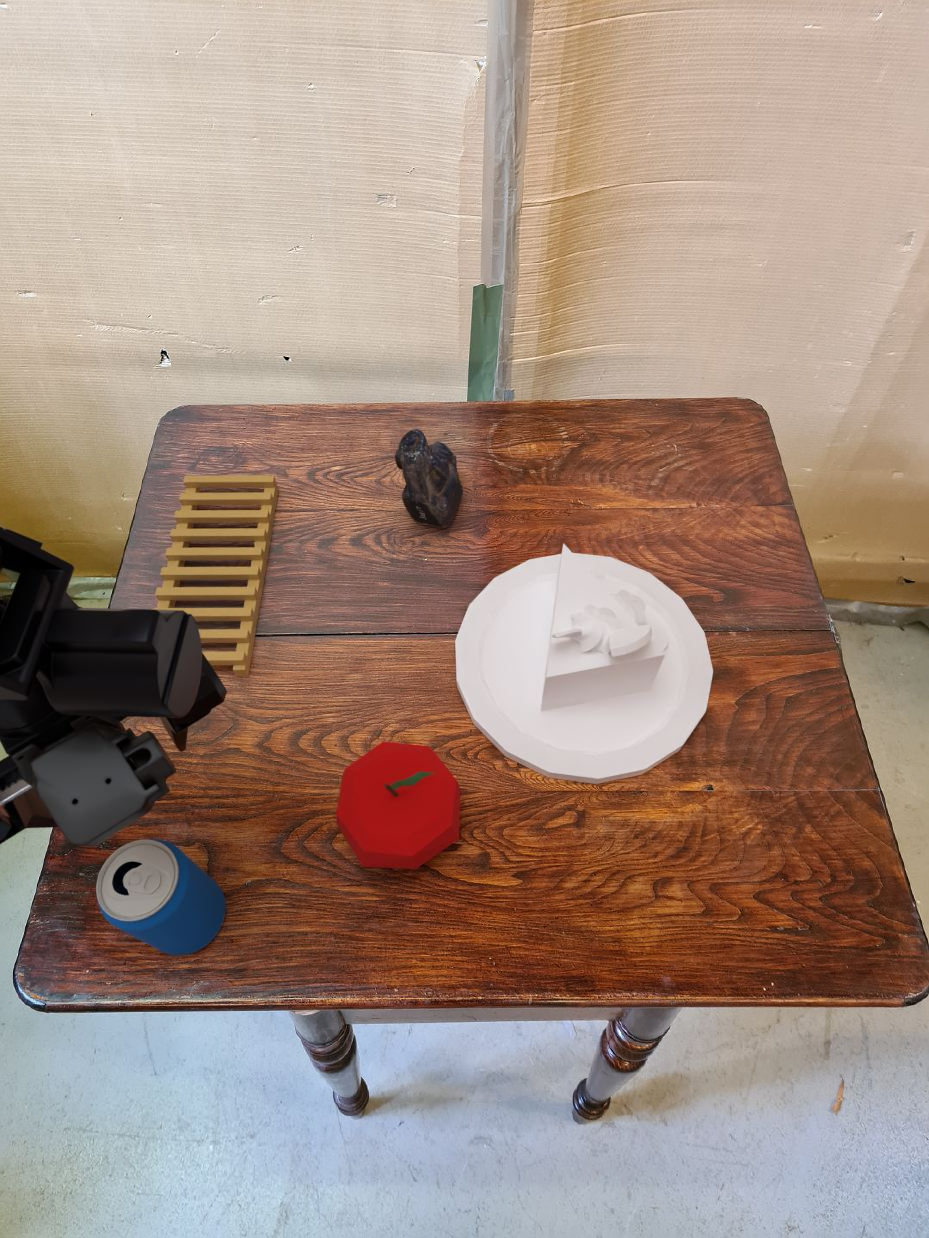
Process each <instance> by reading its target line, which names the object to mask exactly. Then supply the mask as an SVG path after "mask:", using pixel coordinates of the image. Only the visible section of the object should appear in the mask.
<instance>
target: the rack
mask: <svg viewBox="0 0 929 1238" xmlns="http://www.w3.org/2000/svg"><path fill="white" fill-rule="evenodd" d="M182 483H183V485H184V487H185V490H184V492H180V493H179V498H178V501H179V503H180V510H179V509H175V513H174V516H173V518H174V520H175V522H176V526H175V528H171V529H170V534H169V538H170V539H171V541H172V544H171V547H167V548H166V550H165V554H164V556H165V558H166V559H167V563H166V566H162V567H161V569H160V573H159V575H160V578H161V579H162V583H161V584H162V585H161V586H158V587H156V588H155V589H156V590H155V594H154V597H156V599H157V605H156V607H152V608H151V609H154V610H183V611H184V612H186V613H187V614H192V616H193V617H194V619H195V621H196V622H240V624H239V625H240V626H239V628H236V629H235V628H231V629H229V628H227V629H226V628H224V629H222V628H221V629H219V628H217V629H215V628H213V629H209V628H207V629H204V628H203V629H199V628H198V629H199V633H200V638H201V644H203V643H205V644H207V643H208V644H209V643H212V644H214V643H219V644H220V643H223V644H225V643H226V644H228V643H230V644H231V643H236V648H235V651H202V653H203V654H204V656H205V657H206V659H207V660H208V662H209V663H210V664H211V666H232V671H233V673H234V676H235V677H236V678H249V677H250V671H251V664H252V658H253V652H254V645H255V639H256V632H257V627H258V621H259V615H260V607H261V602H262V597H263V589H264V583H265V578H266V571H267V565H268V559H269V554H270V552H269V551H270V547H271V542H272V541H271V540H272V533H273V530H274V529H273V528H274V522H275V515H276V511H277V504H278V497H279V491H280V490H279V486H278V483H277V480H276V476H275V475H274V474H271V475H270V474H265V475H264V474H263V475H262V474H259V475H258V474H256V475H255V474H252V475H250V474H242V475H239V474H238V475H237V474H236V475H228V474H227V475H225V474H224V475H184V478H183V481H182ZM218 488H219V489H221V488H222V489H226V488H227V489H229V488H230V489H233V488H237V489H238V488H239V489H240V488H241V489H242V488H243V489H244V488H246V489H248V488H249V489H250V488H253V489H254V488H256V489H257V488H263V491H261V492H260V491H259V492H258V491H257V492H202V489H218ZM199 506H260V509H208V510H206V509H205V510H203V509H200V510H198V507H199ZM195 524H257V527H256V528H255V527H254V528H253V527H251V528H249V527H247V528H194V525H195ZM191 542H254V545H253V547H245V546H244V547H243V546H242V547H239V546H238V547H236V546H235V547H230V546H229V547H189V546H190V543H191ZM186 561H251V563H250V566H185V563H186ZM182 581H247V586H180V585H181V582H182ZM177 601H244V603H243V607H176V603H177Z"/></svg>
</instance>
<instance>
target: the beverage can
mask: <svg viewBox="0 0 929 1238" xmlns="http://www.w3.org/2000/svg"><path fill="white" fill-rule="evenodd" d="M95 890H96V891H95V892H96V898H97V904H98V909H99V911H100V913H101V914H102V916H103V918H104V919H105V920H106V921H107V922H108V923H109V924H110V925H111V926H113V927H114V928H116V929H118V930H120V931H122V932H124V933H126V934H128V935H130V936H131V937H134V938H135V939H137V940H139V941H141V942H143V943H145V944H147V945H149V946H151V947H152V948H154V949H156V950H158V951H160V952H162V953H164V954H167V955H168V956H169V955H170V956H175V957H177V956H178V957H179V956H180V957H181V956H187V955H191V954H195V953H196V952H198V951H200V950H202V949H203V948H205V947H206V946H208V944H210V943H211V942H212V941H213V939H214V938H215V937H217V934H218V933H219V931H220V930H221V928H222V926H223V923H224V920H225V917H226V907H227V905H226V898H225V895H224V892H223V889H222V888H221V886H220V885H219V884H218V883H217V882H216V880H214V879H213V878H212V877H211V876H210V875H208V873H206V872H205V870H203V869H202V868H201V867H200V866H199V865H198V864H197V863H195V862H194V861H193V860H192V859H191V858H190V857H189V856H188V855H187V854H186V853H185V852H183V851H182V850H181V849H180V848H179V847H178V846H177V845H175V844H174V843H172V842H170V841H168V840H165V839H160V838H146V839H145V838H144V839H137V840H133V841H131V842H130V841H129V842H127V843H125V844H124V845H122V846H120V847H119V848H117V849H116V850H114V851H113V853H112V854H110V856H109V857H107V859H106V860H105V862H104V863H103V865H102V867H101V868H100V870H99V873H98V876H97V879H96V884H95Z"/></svg>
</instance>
